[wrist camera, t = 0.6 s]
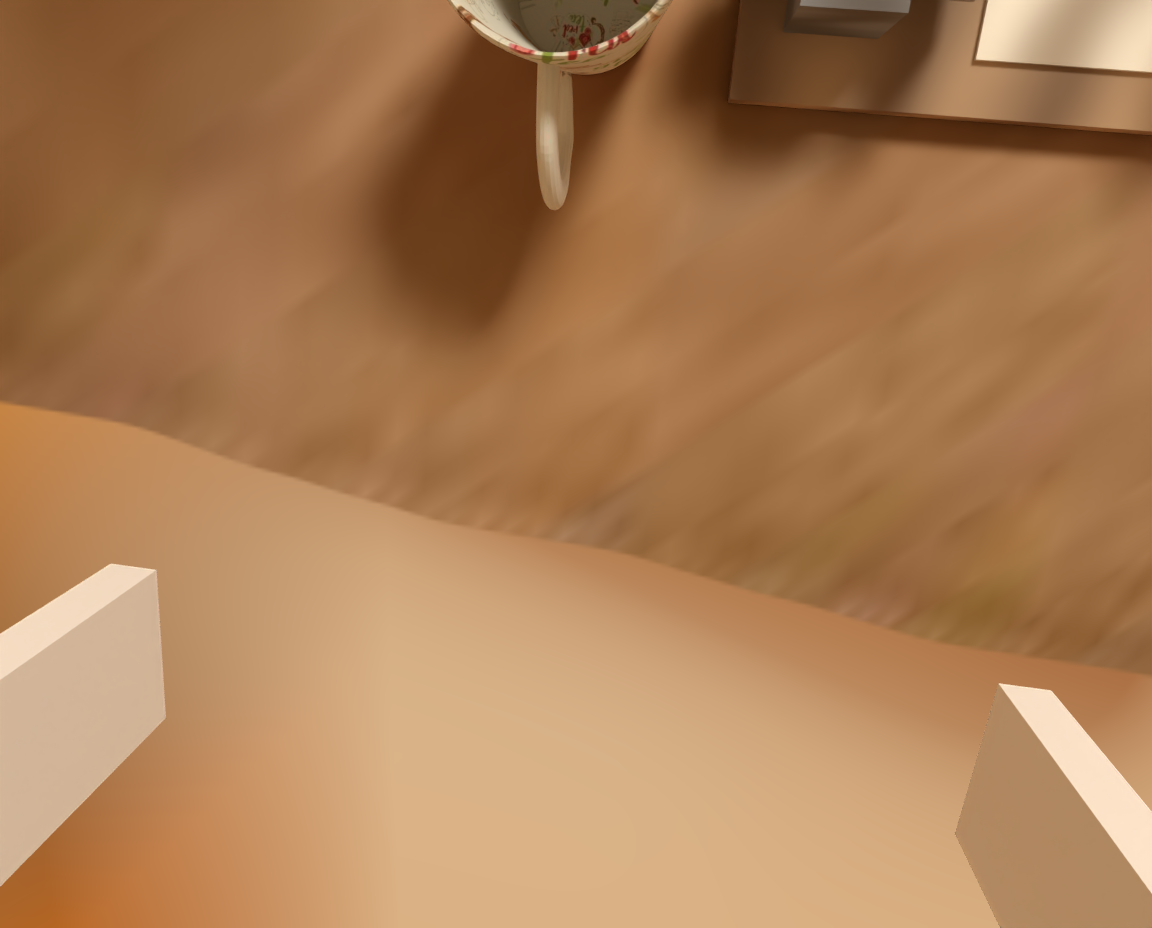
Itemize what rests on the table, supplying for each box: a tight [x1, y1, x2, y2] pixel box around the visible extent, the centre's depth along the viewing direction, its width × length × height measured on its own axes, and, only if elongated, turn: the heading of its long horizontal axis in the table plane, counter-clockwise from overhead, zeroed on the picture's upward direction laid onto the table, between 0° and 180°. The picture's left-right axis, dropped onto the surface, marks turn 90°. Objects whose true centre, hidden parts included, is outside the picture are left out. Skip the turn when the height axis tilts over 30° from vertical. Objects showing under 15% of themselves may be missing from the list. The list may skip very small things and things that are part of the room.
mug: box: [448, 0, 672, 210], centre depth 28 cm, size 8×13×10 cm, turn 177°
